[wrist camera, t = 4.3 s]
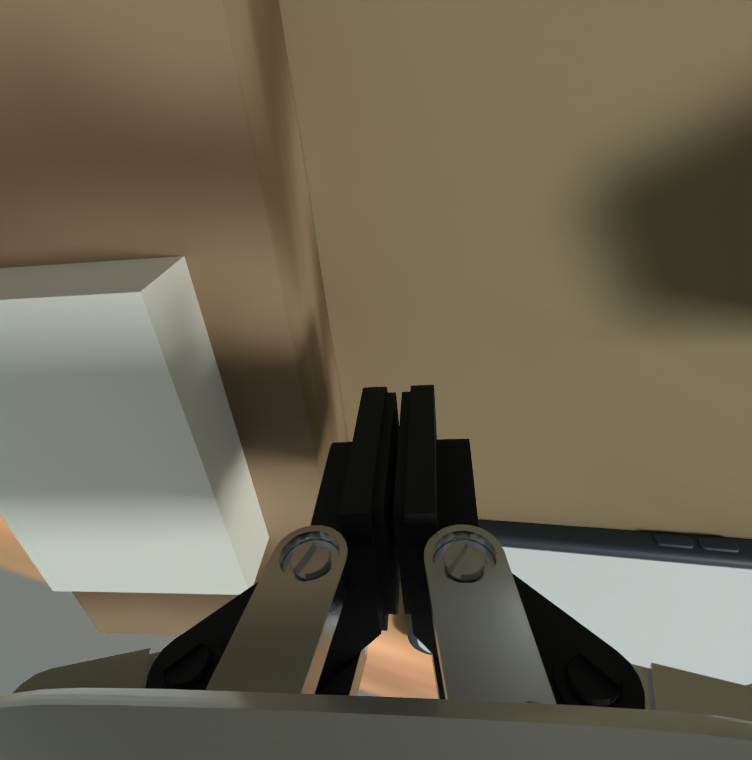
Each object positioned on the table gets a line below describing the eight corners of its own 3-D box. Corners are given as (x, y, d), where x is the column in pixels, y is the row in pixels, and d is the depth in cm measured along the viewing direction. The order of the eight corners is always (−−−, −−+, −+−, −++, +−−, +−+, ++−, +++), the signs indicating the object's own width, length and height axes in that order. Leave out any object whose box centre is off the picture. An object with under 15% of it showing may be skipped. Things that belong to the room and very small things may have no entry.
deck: (-124, 4, 12) (-329, -16, 9) (270, -52, 11) (202, -98, 8) (146, 548, 23) (98, 632, 20) (365, 550, 22) (353, 640, 18)
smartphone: (407, 625, 26) (740, 660, 24) (406, 656, 24) (758, 695, 23) (416, 500, 21) (831, 535, 20) (415, 530, 20) (860, 570, 18)
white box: (-61, 272, 12) (-143, 307, 10) (184, 255, 11) (139, 291, 9) (91, 536, 16) (52, 591, 15) (269, 537, 16) (249, 594, 14)
